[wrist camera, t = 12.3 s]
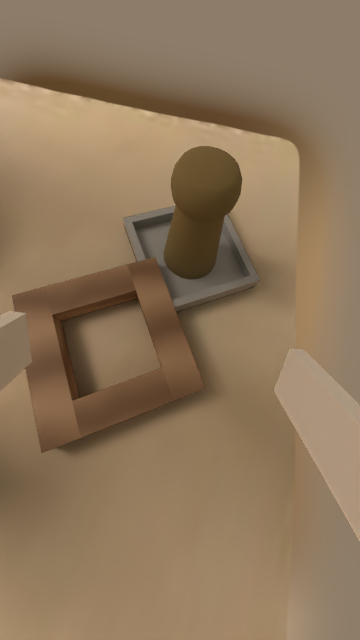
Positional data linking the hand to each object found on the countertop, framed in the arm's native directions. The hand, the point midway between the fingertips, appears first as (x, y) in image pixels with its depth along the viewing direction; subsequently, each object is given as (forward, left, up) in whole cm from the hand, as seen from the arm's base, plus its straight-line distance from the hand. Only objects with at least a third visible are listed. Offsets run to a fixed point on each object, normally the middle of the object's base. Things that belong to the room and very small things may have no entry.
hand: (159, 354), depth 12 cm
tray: (-11, +7, -11) cm, 17 cm away
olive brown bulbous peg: (-11, +7, -11) cm, 17 cm away
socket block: (-4, -4, -11) cm, 12 cm away
